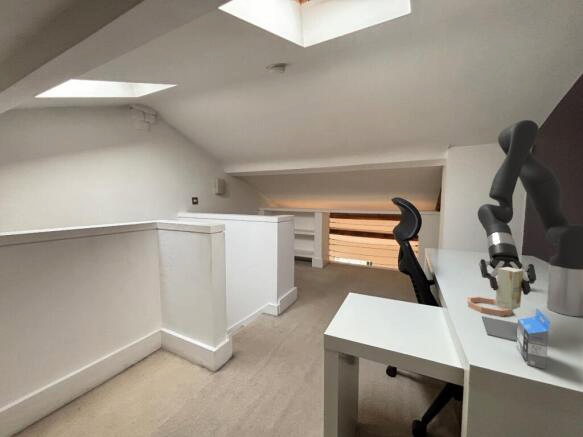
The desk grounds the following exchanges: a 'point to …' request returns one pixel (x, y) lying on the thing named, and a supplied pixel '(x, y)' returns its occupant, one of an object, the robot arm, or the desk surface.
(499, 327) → the mat
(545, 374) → the desk surface
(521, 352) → the label tape cartridge
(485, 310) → the ring
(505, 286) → the skincare box
